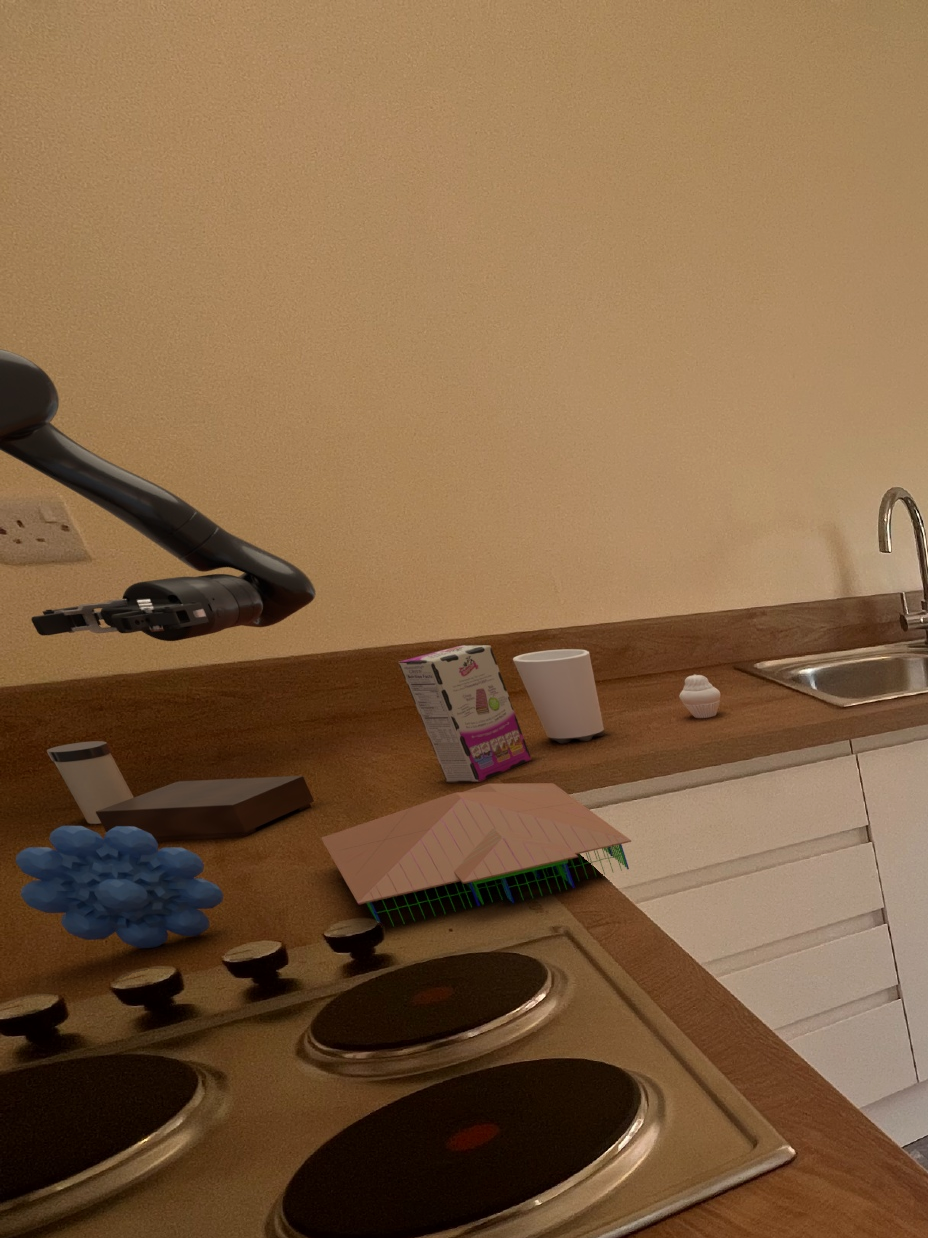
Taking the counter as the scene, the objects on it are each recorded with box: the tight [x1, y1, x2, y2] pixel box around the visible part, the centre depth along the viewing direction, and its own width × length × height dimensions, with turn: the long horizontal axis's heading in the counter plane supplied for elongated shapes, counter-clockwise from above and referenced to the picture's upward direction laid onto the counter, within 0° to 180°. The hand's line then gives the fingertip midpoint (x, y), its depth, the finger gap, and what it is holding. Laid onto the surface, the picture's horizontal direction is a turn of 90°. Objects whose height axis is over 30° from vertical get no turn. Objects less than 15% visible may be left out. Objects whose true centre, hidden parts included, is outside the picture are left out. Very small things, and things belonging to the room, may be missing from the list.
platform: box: [96, 775, 315, 842], centre depth 125 cm, size 14×12×4 cm
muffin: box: [678, 673, 721, 719], centre depth 173 cm, size 6×6×7 cm
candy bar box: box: [397, 644, 532, 783], centre depth 142 cm, size 11×5×16 cm, turn 179°
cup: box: [512, 648, 605, 744], centre depth 159 cm, size 10×10×13 cm
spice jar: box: [46, 740, 134, 825], centre depth 126 cm, size 5×5×9 cm
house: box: [320, 782, 632, 927], centre depth 111 cm, size 23×33×8 cm
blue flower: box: [15, 825, 224, 949], centre depth 91 cm, size 12×7×12 cm, turn 134°
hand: (78, 625), depth 126 cm, fingers open, 8 cm apart
